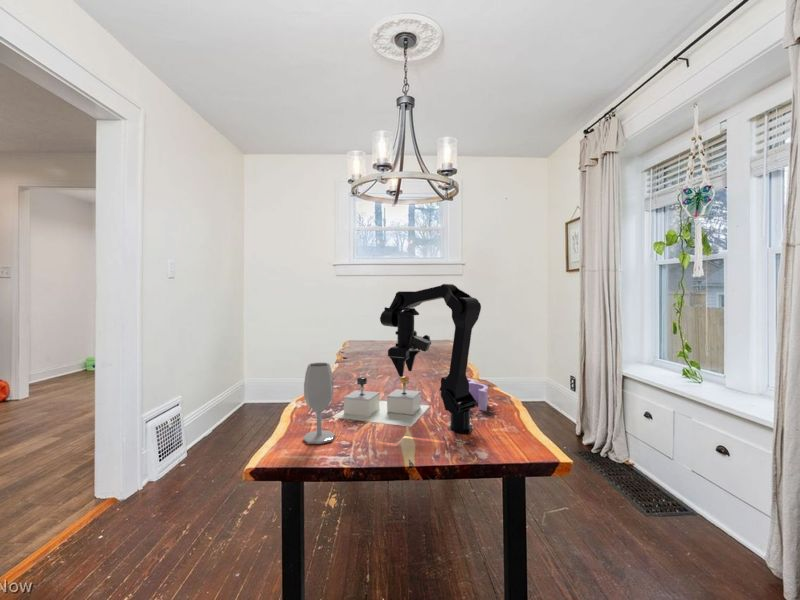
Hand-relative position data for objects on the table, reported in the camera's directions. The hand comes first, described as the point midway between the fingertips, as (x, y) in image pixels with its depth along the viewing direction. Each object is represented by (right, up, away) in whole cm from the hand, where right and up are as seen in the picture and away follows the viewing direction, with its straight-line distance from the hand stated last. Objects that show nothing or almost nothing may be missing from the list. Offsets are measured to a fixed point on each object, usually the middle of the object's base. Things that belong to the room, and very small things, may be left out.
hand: (405, 373), depth 130 cm
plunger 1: (-15, -9, -1) cm, 17 cm away
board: (-8, -13, -1) cm, 15 cm away
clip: (+23, -13, +11) cm, 29 cm away
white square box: (0, -13, 0) cm, 13 cm away
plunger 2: (0, -9, 0) cm, 9 cm away
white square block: (-15, -13, -1) cm, 19 cm away
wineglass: (-25, -14, -23) cm, 37 cm away
